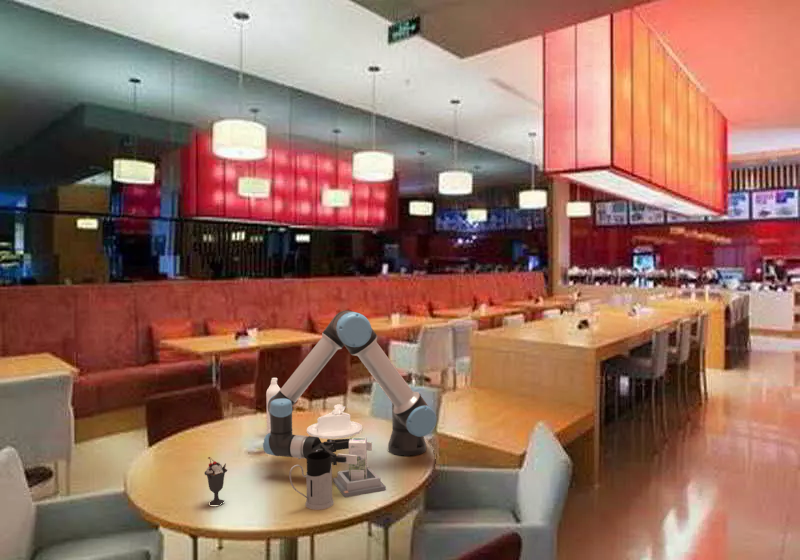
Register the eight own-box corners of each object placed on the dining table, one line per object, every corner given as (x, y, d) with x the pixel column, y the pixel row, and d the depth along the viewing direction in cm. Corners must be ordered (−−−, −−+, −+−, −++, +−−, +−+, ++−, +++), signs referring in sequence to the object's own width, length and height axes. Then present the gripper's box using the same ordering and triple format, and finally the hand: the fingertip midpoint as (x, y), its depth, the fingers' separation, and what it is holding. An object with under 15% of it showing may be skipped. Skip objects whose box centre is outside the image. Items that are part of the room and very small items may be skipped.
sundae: (200, 506, 172) (199, 458, 172) (215, 497, 179) (214, 451, 178) (217, 509, 170) (216, 460, 170) (231, 500, 176) (231, 453, 176)
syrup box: (367, 478, 190) (366, 436, 189) (366, 485, 184) (365, 442, 183) (350, 479, 190) (349, 436, 189) (348, 485, 184) (348, 442, 183)
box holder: (371, 475, 196) (371, 464, 196) (385, 490, 183) (385, 478, 183) (332, 481, 191) (332, 470, 191) (344, 497, 178) (344, 485, 178)
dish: (340, 419, 268) (340, 396, 268) (373, 431, 249) (373, 405, 249) (296, 430, 251) (295, 405, 251) (328, 443, 233) (328, 416, 233)
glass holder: (338, 504, 172) (338, 456, 172) (296, 517, 164) (295, 466, 164) (325, 495, 180) (324, 449, 179) (284, 506, 171) (283, 458, 171)
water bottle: (281, 440, 237) (280, 381, 236) (266, 441, 236) (265, 382, 235) (283, 434, 245) (282, 377, 244) (268, 434, 244) (267, 378, 244)
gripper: (322, 446, 204) (377, 452, 198) (289, 471, 181) (349, 477, 174) (322, 426, 204) (376, 431, 198) (288, 448, 180) (349, 454, 174)
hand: (364, 453), depth 186 cm, fingers open, 13 cm apart
